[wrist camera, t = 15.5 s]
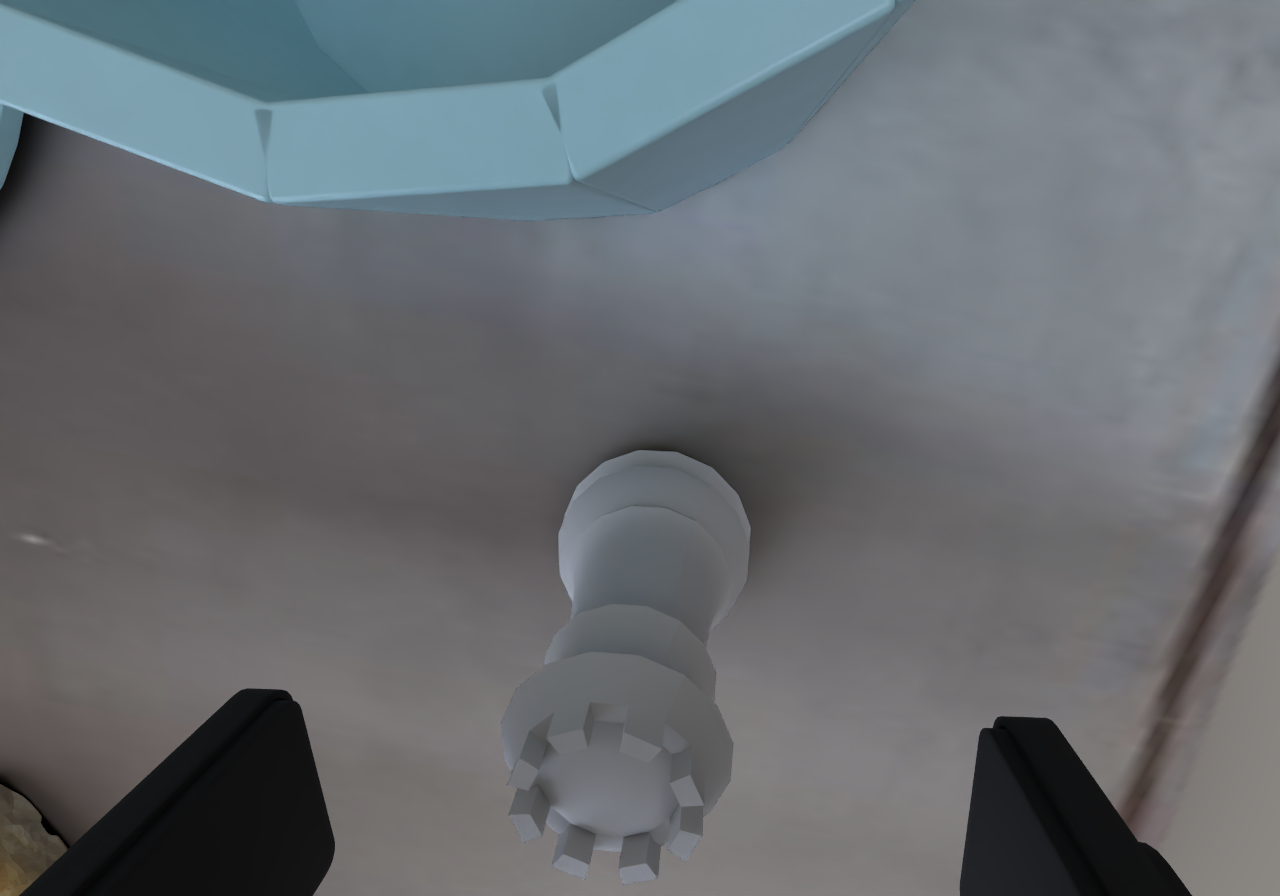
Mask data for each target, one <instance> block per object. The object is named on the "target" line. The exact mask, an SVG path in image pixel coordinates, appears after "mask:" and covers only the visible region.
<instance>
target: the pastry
mask: <svg viewBox="0 0 1280 896" xmlns="http://www.w3.org/2000/svg"><path fill="white" fill-rule="evenodd" d="M41 819H42V817H41V815H40V813H39V812H38V811H37V810H36V809H35V808H34V807H33V805H32V804H31V803H30V802H29V801H28V800H27V799H25V798H24V797H22V796H21V795H20V794H18V793H16V792H14V791H12V790H10V789H8V788H6V787H5V786H3V785H1V784H0V896H19V895H20V894H21V893H22V892H23V891H24V890H25V889H26V888H27V887H29V886H30V885H31V884H32V883H33V882H34V881H35V880H36V879H37V878H38V877H39V876H40V875H41V874H43V873H44V872H45V871H46V870H47V869H48V868H49V867H50V866H51V865H52V864H53V863H54V862H55V861H56V860H58V859H59V858H60V857H61V856H62V855H63V854H64V853H65V852H66V851H67V850H68V848H67V847H66V846H65V845H64V843H63V842H62V840H61V839H60V838H59V837H58V836H57V835H52V836H51V835H50V834H48V833H47V832H46V830H45V829H44V828H43V826H42V824H41Z"/></svg>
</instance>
